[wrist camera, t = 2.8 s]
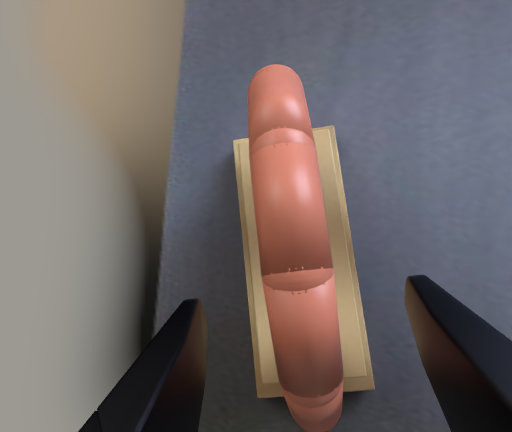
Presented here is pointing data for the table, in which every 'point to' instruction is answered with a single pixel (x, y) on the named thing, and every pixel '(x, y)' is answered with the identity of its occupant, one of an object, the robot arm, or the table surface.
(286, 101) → the ring
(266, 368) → the stand
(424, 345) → the robot arm
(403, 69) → the table surface
